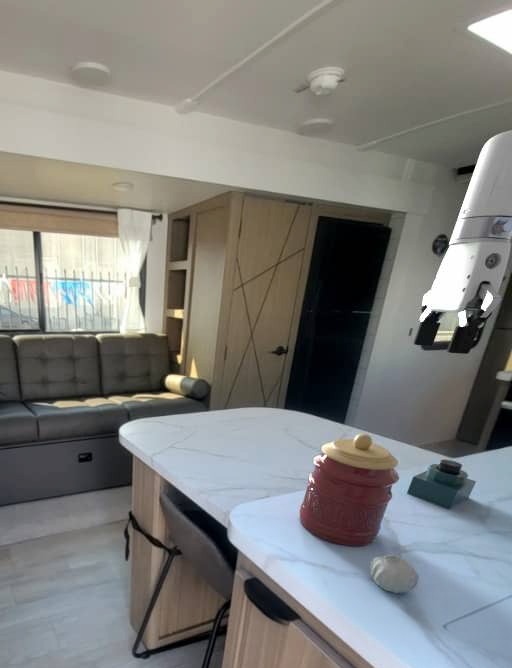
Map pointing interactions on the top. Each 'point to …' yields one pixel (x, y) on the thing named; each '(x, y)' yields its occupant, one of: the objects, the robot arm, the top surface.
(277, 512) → the top surface
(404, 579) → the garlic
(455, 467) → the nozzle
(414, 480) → the green push button box
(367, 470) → the kitchen canister
